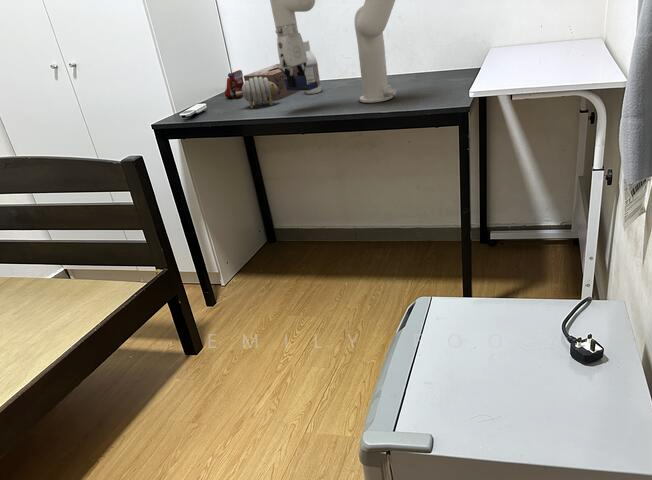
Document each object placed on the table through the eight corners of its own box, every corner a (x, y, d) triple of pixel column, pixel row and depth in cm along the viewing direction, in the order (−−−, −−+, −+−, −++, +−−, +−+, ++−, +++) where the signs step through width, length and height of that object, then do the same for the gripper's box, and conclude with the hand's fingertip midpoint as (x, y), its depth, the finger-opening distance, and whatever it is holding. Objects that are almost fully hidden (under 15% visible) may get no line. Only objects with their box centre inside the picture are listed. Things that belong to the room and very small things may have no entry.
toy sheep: (282, 104, 220) (277, 75, 215) (240, 112, 217) (233, 82, 212) (278, 100, 229) (273, 71, 224) (238, 107, 226) (231, 78, 221)
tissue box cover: (281, 87, 255) (277, 63, 250) (308, 86, 249) (304, 62, 244) (248, 100, 236) (243, 75, 231) (276, 100, 230) (272, 74, 225)
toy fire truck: (223, 100, 243) (217, 75, 238) (239, 93, 253) (233, 69, 248) (236, 99, 241) (230, 74, 235) (251, 93, 250) (246, 68, 245)
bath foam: (322, 92, 233) (315, 40, 223) (306, 95, 232) (298, 43, 222) (319, 89, 239) (312, 39, 228) (304, 92, 238) (295, 41, 227)
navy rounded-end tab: (318, 87, 201) (316, 75, 199) (309, 90, 198) (307, 78, 196) (292, 87, 208) (290, 76, 206) (283, 90, 205) (281, 79, 203)
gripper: (278, 34, 186) (289, 91, 195) (310, 25, 197) (320, 79, 206) (262, 35, 190) (274, 91, 199) (295, 27, 201) (305, 79, 211)
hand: (297, 84), depth 203 cm, fingers closed on navy rounded-end tab, 5 cm apart
